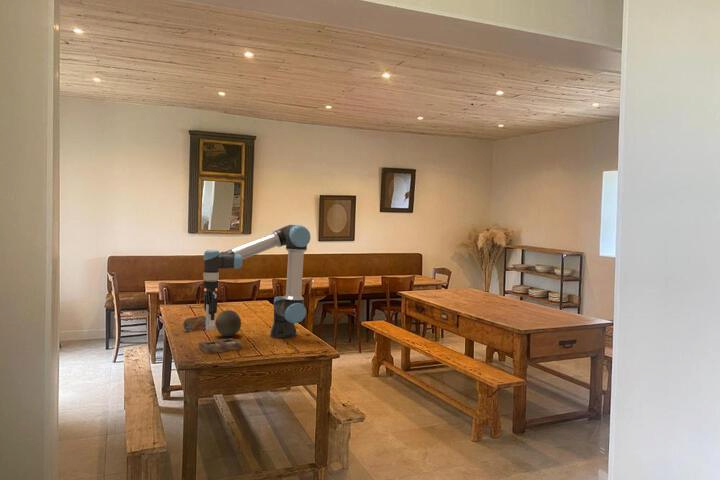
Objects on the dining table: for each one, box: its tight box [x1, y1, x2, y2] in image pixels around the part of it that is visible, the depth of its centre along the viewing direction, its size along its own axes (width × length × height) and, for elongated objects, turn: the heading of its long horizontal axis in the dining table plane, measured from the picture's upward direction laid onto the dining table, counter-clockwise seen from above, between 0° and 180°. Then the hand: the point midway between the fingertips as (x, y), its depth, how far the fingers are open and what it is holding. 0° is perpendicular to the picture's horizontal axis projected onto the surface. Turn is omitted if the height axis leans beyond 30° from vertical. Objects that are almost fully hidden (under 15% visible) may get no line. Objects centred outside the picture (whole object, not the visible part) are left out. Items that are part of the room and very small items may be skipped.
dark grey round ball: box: [215, 309, 242, 337], centre depth 297 cm, size 14×14×15 cm
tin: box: [182, 315, 206, 333], centre depth 311 cm, size 15×3×8 cm, turn 137°
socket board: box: [198, 337, 243, 355], centre depth 271 cm, size 18×13×3 cm
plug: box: [205, 304, 216, 331], centre depth 269 cm, size 3×3×13 cm
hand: (210, 325), depth 269 cm, fingers closed on plug, 3 cm apart
